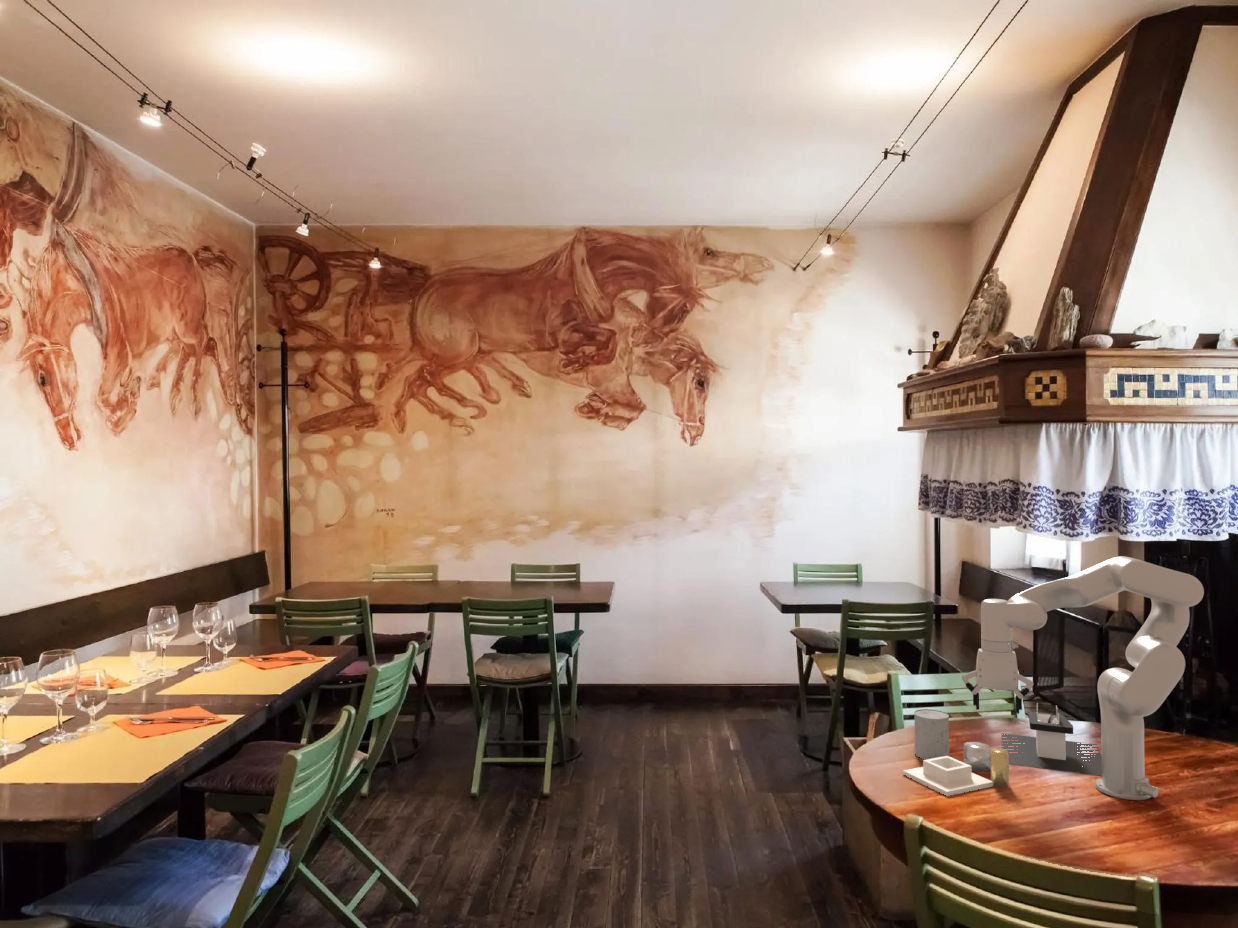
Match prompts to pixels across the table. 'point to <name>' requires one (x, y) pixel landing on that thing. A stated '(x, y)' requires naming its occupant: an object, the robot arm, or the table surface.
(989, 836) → the table surface
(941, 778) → the flange socket
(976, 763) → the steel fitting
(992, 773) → the cylinder
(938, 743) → the grey cylinder
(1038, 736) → the black-topped pedestal
